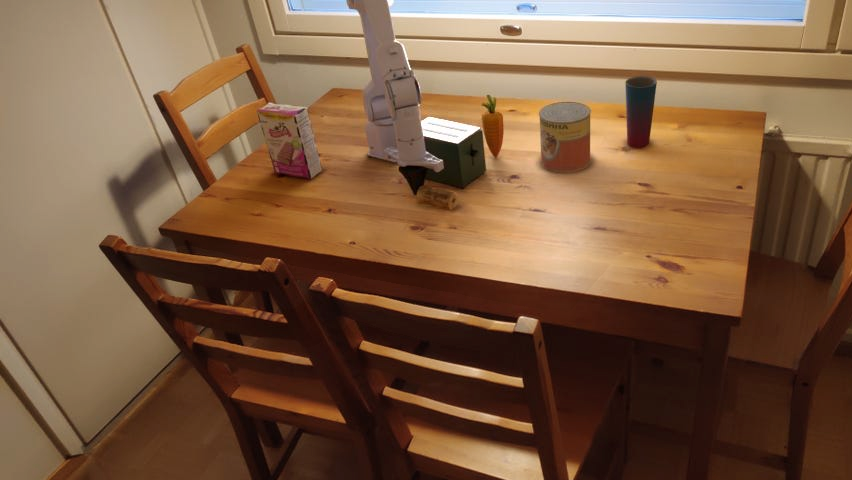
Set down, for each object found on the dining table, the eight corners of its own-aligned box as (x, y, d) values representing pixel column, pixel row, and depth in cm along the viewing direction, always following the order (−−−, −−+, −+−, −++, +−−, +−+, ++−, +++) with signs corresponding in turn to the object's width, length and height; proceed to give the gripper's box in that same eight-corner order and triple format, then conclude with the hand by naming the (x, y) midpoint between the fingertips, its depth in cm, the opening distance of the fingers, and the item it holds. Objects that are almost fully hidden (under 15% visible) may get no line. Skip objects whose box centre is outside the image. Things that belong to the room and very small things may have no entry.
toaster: (410, 176, 158) (403, 131, 152) (434, 160, 164) (428, 116, 157) (467, 191, 150) (462, 144, 143) (490, 173, 156) (486, 127, 149)
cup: (620, 148, 160) (622, 86, 151) (626, 136, 165) (629, 75, 156) (650, 151, 157) (653, 88, 149) (655, 138, 162) (659, 76, 154)
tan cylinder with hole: (460, 204, 146) (458, 187, 143) (449, 213, 143) (447, 196, 140) (427, 197, 149) (425, 181, 147) (417, 206, 146) (414, 190, 144)
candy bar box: (273, 174, 165) (254, 110, 156) (286, 165, 169) (268, 101, 159) (311, 180, 161) (294, 114, 151) (323, 170, 164) (307, 105, 155)
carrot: (504, 161, 160) (499, 100, 151) (483, 161, 161) (477, 100, 152) (507, 152, 164) (503, 91, 155) (487, 152, 165) (481, 92, 156)
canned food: (530, 161, 158) (528, 112, 152) (566, 145, 164) (565, 97, 157) (564, 177, 151) (563, 127, 144) (600, 160, 156) (601, 110, 149)
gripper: (370, 137, 141) (381, 194, 149) (424, 150, 134) (433, 210, 142) (392, 123, 146) (402, 180, 154) (446, 135, 138) (453, 194, 146)
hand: (418, 193), depth 148 cm, fingers closed
